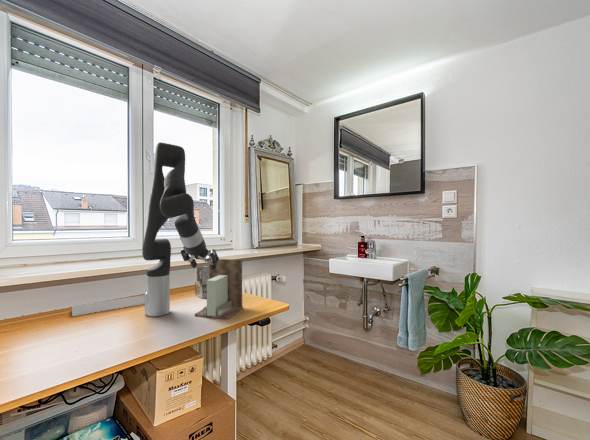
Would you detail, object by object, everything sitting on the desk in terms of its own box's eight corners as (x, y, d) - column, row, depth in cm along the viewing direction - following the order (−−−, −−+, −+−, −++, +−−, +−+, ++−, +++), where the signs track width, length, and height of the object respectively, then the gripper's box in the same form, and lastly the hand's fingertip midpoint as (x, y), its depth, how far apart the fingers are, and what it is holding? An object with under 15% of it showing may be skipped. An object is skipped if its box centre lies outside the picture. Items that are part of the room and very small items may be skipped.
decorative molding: (72, 317, 131) (72, 317, 123) (72, 306, 132) (72, 306, 124) (153, 303, 152) (157, 302, 144) (152, 294, 153) (156, 293, 145)
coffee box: (213, 296, 154) (213, 266, 154) (202, 298, 150) (201, 268, 150) (205, 293, 161) (205, 264, 161) (194, 295, 156) (194, 266, 156)
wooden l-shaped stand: (194, 316, 123) (194, 263, 123) (211, 305, 138) (211, 258, 138) (228, 319, 120) (228, 264, 120) (242, 308, 134) (242, 259, 134)
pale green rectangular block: (205, 315, 121) (205, 280, 121) (218, 306, 133) (218, 274, 133) (215, 316, 120) (215, 280, 120) (227, 307, 132) (227, 275, 132)
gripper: (214, 234, 108) (224, 261, 119) (180, 231, 111) (193, 259, 121) (206, 248, 102) (217, 276, 113) (170, 245, 105) (185, 273, 116)
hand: (204, 267), depth 117 cm, fingers open, 8 cm apart
